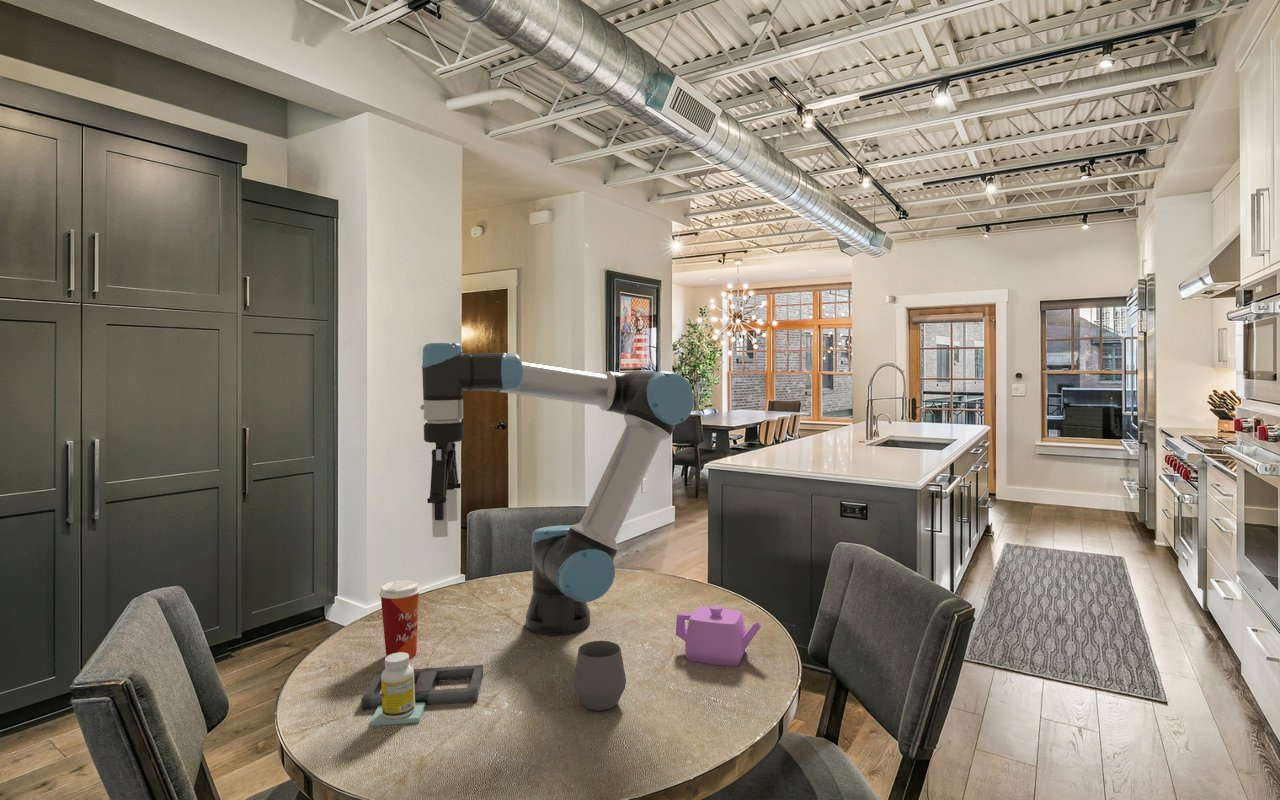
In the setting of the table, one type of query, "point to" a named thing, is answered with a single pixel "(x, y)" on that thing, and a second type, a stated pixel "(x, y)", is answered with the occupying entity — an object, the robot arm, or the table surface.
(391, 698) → the supplement bottle
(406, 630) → the coffee cup
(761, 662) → the table surface
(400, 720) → the mat
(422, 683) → the grey rectangular frame
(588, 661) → the cup
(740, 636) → the teapot
